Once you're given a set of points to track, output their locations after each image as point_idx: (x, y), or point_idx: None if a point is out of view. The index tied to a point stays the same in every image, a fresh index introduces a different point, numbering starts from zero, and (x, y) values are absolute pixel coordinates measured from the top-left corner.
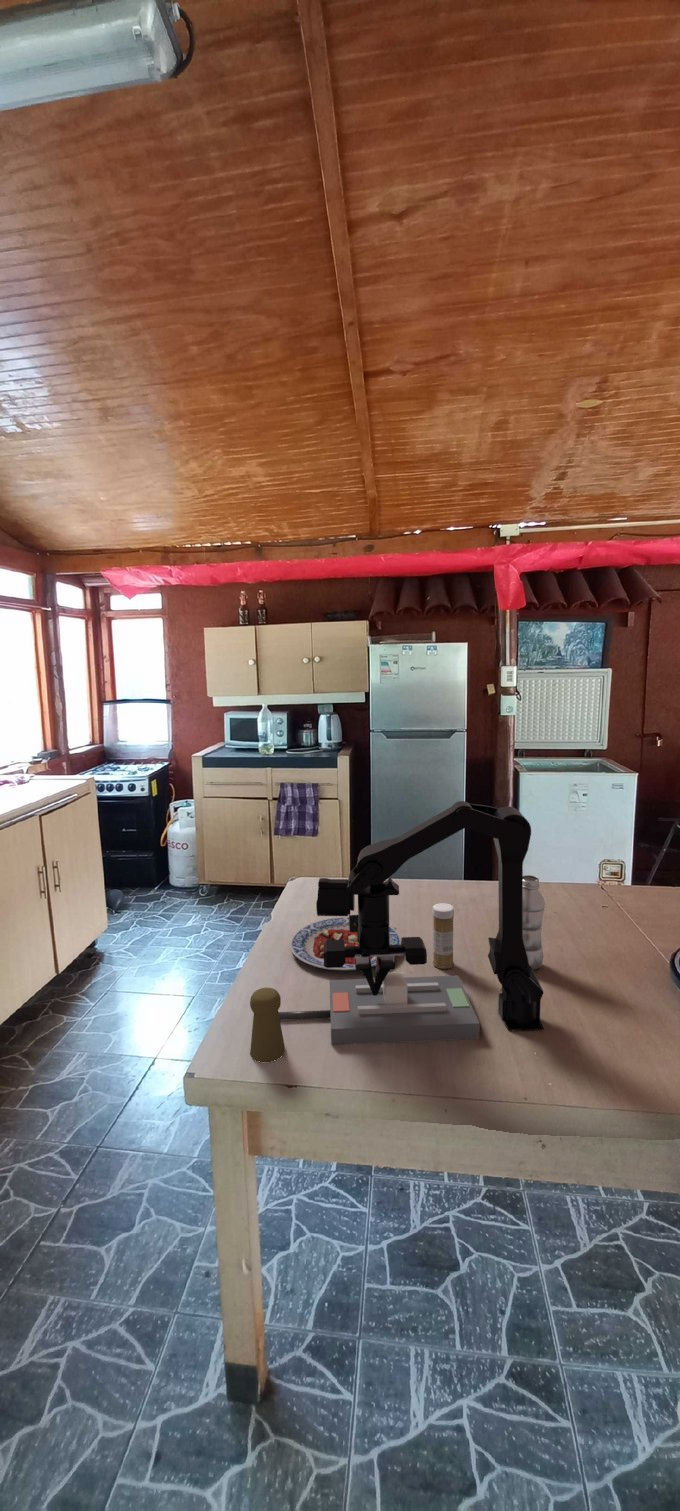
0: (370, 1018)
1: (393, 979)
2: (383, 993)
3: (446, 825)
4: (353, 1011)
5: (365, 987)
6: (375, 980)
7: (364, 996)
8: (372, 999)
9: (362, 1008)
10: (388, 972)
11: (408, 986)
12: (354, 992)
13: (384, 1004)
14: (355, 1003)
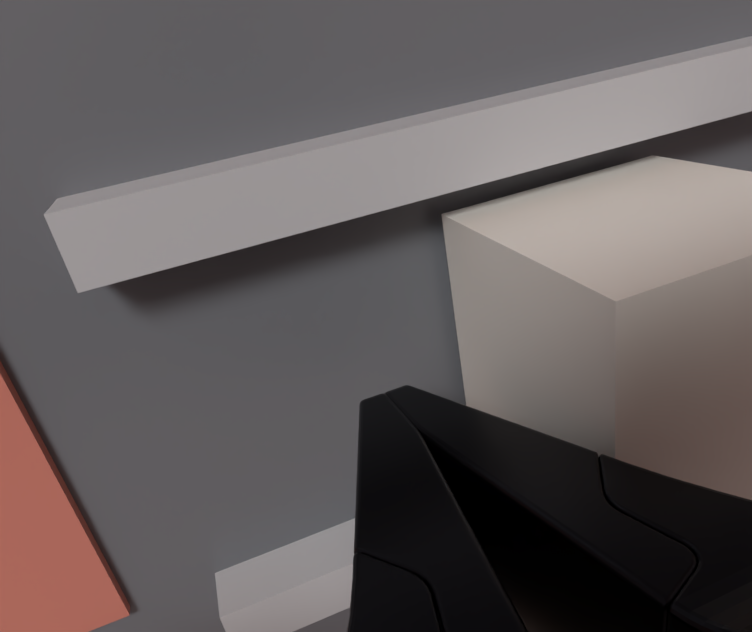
0: (349, 612)
1: (735, 449)
2: (461, 289)
3: None
4: (171, 592)
5: (227, 245)
6: (487, 551)
7: (225, 317)
8: (330, 353)
9: (277, 626)
10: (708, 273)
11: (734, 111)
12: (61, 260)
13: (455, 401)
14: (153, 474)
